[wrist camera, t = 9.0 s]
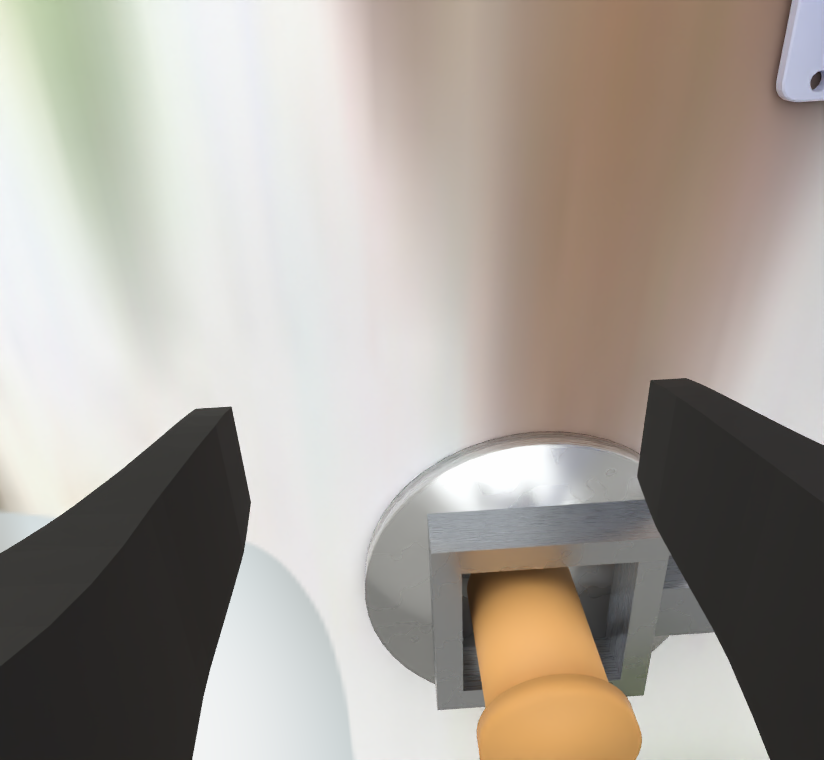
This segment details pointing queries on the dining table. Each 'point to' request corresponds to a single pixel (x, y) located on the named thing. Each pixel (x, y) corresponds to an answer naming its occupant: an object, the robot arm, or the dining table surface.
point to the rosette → (524, 556)
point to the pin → (544, 673)
